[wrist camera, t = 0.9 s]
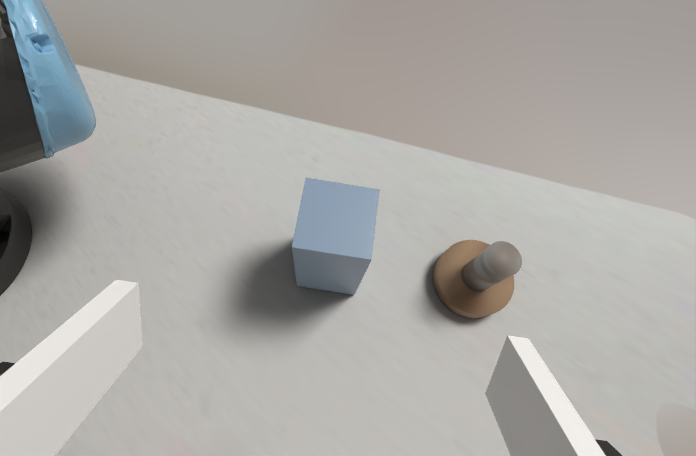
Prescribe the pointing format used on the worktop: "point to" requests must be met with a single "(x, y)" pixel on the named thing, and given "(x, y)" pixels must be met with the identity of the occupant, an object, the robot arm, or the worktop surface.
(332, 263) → the upright blue pillar
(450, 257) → the post stand
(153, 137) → the worktop surface
